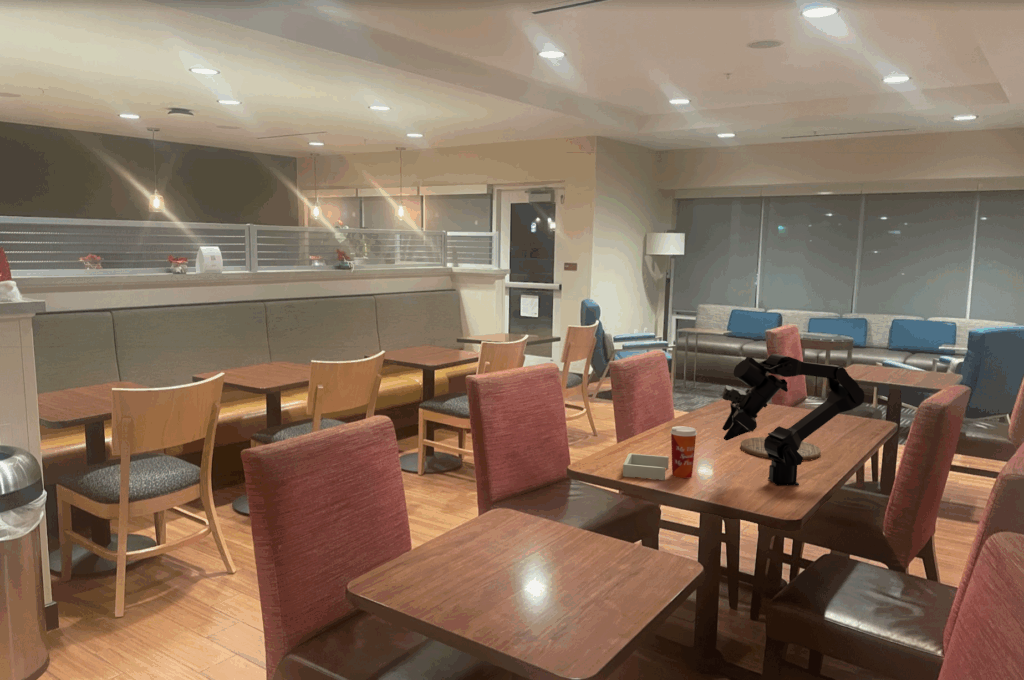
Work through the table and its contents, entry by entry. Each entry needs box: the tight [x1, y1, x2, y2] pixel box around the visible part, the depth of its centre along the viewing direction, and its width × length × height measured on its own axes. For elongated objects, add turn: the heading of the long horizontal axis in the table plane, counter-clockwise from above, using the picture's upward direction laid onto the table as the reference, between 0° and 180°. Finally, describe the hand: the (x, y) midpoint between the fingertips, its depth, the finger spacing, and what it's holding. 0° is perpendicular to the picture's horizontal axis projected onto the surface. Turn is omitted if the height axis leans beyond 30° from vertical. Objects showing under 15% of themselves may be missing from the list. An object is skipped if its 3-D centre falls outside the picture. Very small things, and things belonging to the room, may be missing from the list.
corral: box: [622, 452, 670, 481], centre depth 209 cm, size 12×13×4 cm
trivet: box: [740, 436, 822, 461], centre depth 235 cm, size 25×25×2 cm
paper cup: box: [669, 425, 698, 479], centre depth 206 cm, size 8×8×14 cm
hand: (724, 434), depth 201 cm, fingers open, 9 cm apart
